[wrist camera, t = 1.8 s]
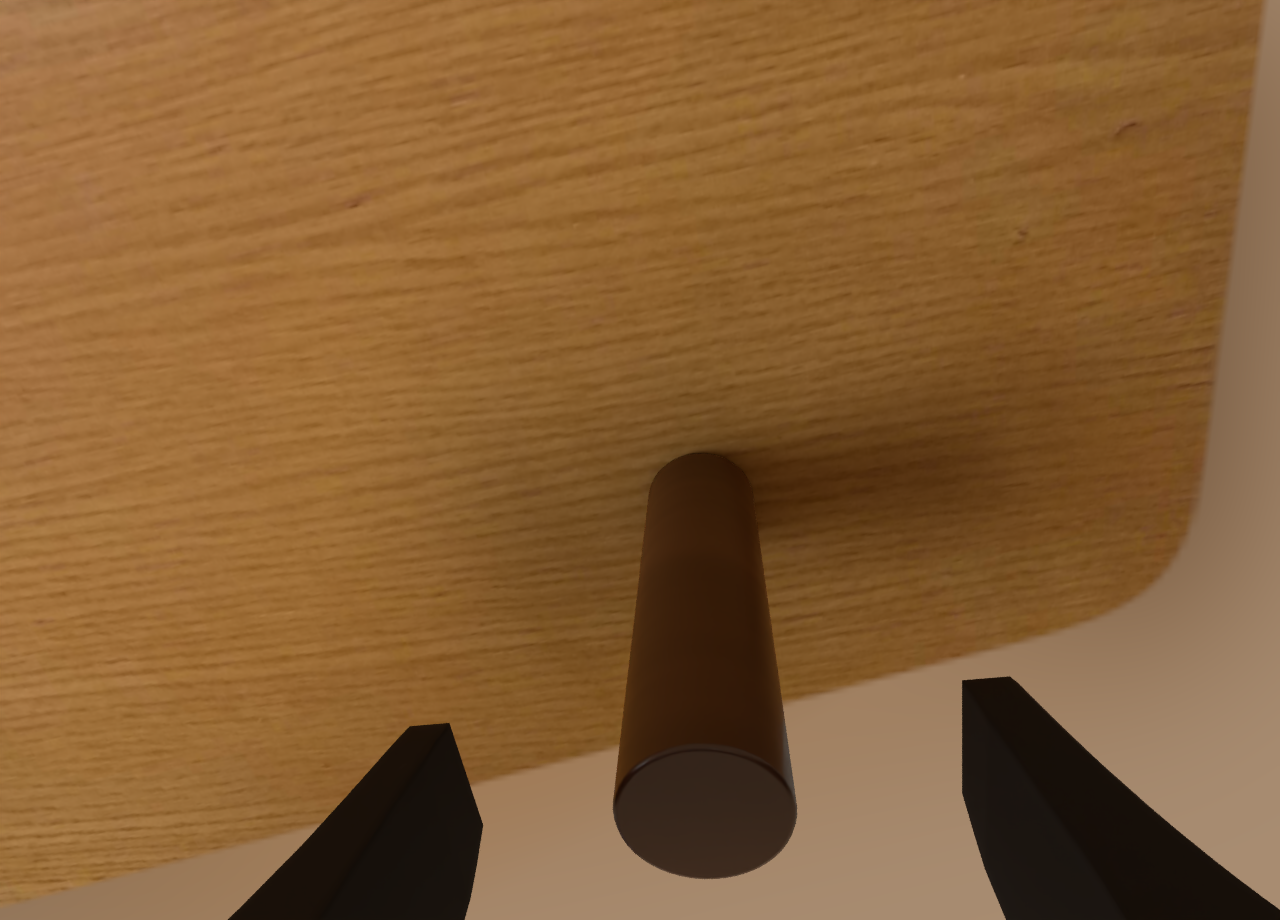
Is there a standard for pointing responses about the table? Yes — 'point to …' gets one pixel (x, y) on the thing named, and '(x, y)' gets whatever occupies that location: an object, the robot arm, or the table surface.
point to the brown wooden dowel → (703, 685)
